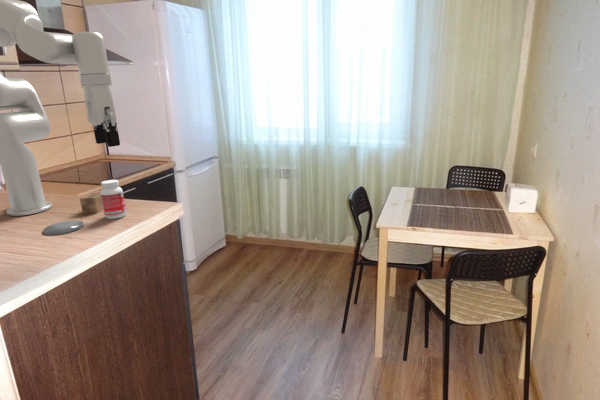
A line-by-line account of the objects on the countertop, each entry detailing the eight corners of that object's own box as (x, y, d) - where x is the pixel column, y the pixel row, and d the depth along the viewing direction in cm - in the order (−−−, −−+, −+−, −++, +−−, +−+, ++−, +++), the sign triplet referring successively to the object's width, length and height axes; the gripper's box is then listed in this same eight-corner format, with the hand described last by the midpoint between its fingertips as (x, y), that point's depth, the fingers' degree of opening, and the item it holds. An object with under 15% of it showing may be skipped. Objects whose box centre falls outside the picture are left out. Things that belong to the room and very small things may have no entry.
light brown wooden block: (82, 213, 128) (79, 198, 127) (91, 208, 133) (88, 193, 132) (97, 213, 128) (94, 198, 126) (106, 208, 133) (103, 193, 131)
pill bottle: (128, 216, 123) (122, 181, 120) (107, 221, 120) (100, 185, 117) (124, 211, 128) (118, 177, 125) (103, 215, 125) (96, 181, 122)
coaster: (35, 232, 113) (35, 230, 113) (68, 220, 122) (68, 218, 121) (59, 237, 109) (58, 234, 109) (91, 224, 117) (90, 222, 117)
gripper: (72, 82, 113) (84, 143, 118) (91, 81, 100) (104, 149, 105) (100, 81, 117) (111, 140, 122) (121, 80, 105) (133, 145, 110)
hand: (108, 144), depth 114 cm, fingers open, 9 cm apart
